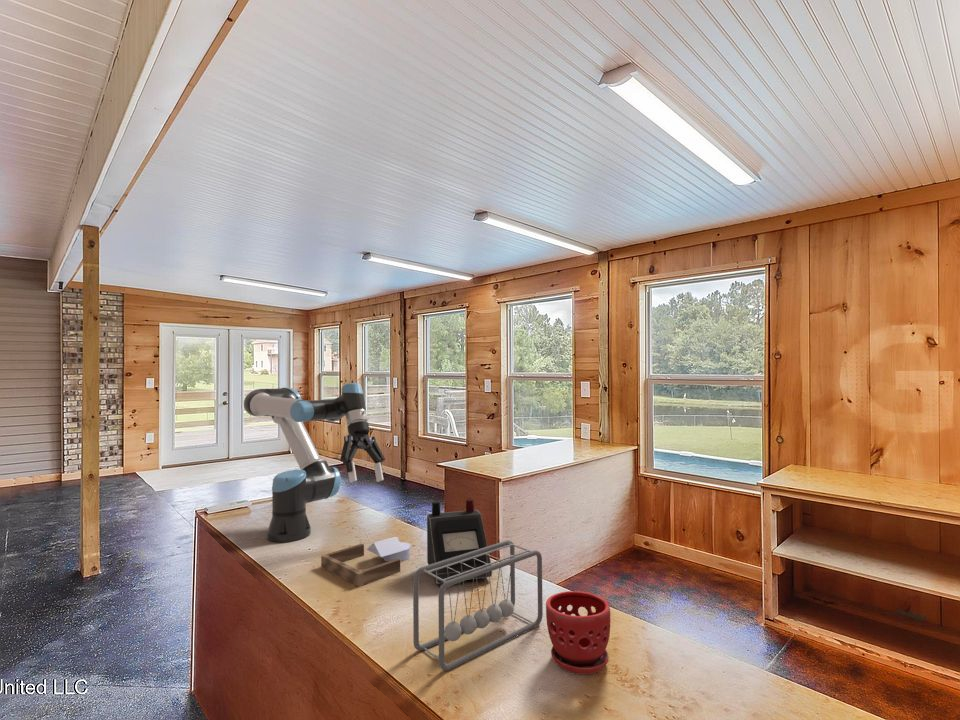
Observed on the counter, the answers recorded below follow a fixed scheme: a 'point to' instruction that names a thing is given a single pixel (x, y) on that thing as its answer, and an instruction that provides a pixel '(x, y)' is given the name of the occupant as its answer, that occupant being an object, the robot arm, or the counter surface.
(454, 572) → the voltmeter
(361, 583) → the walnut bay
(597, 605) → the plant pot
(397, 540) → the wedge on round base
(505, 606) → the newton's cradle
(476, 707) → the counter surface
